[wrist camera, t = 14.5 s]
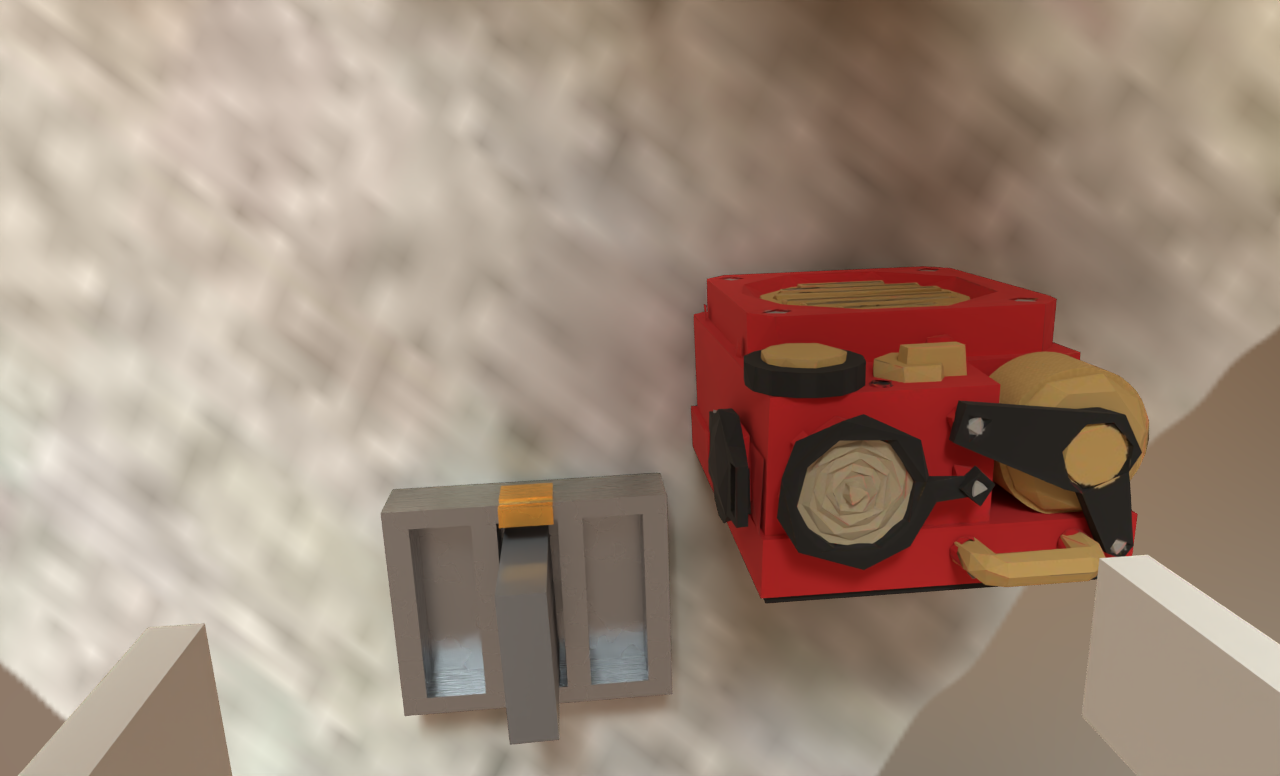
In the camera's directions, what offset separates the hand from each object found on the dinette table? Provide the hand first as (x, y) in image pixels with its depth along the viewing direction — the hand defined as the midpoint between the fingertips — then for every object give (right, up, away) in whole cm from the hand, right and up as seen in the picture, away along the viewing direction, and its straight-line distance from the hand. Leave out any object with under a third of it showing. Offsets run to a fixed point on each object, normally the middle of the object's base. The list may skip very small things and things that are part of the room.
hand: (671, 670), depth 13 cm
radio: (+9, +6, +36) cm, 37 cm away
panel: (-7, -7, +37) cm, 38 cm away
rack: (-7, -7, +37) cm, 38 cm away
